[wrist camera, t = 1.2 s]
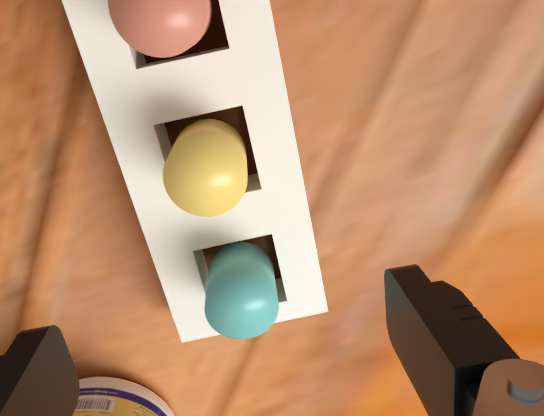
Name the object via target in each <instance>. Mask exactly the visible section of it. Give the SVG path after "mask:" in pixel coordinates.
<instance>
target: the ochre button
mask: <svg viewBox="0 0 544 416" xmlns="http://www.w3.org/2000/svg"><path fill="white" fill-rule="evenodd" d="M247 182H248V173H247V157H246V148H245V144H244V142H243V139H242V138H241V136H240V134H239V133H238V132H237V131H236V130H235V129H234V128H233V127H232V126H230V125H229V124H227V123H225V122H223V121H220V120H216V119H202V120H198V121H195V122H193V123H191V124H189V125H188V126H186V127H185V128H184V129H183V130H182V131H181V132H180V134H179V135H178V137H177V139H176V141H175V143H174V145H173V147H172V149H171V151H170V153H169V155H168V157H167V159H166V161H165V164H164V168H163V183H164V187H165V190H166V192H167V194H168V196H169V197H170V199H171V200H172V201H173V202H174V204H175V205H177V206H178V207H179V208H180V209H182V210H183V211H185V212H187V213H189V214H192V215H196V216H201V217H212V216H217V215H221V214H223V213H226V212H228V211H229V210H231V209H232V208H234V207H235V206H236V205H237V204H238V203H239V201H240V200H241V199H242V197H243V195H244V193H245V191H246V188H247Z"/></svg>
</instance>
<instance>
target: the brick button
mask: <svg viewBox="0 0 544 416" xmlns="http://www.w3.org/2000/svg"><path fill="white" fill-rule="evenodd" d="M108 8H109V13H110V17H111V20H112V22H113V25H114V26H115V28H116V30H117V32H118V33H119V35H120V36H121V37H122V38H123V40H124V41H125V42H126V43H127V44H129V45H130V46H131V47H132V48H134V49H135V50H137V51H139V52H140V53H143V54H145V55H148V56H152V57H159V58H166V57H172V56H176V55H179V54H181V53H183V52H185V51H186V50H188V49H189V48H191V47H192V46H194V45H195V44H196V43H198V42H199V41H200V40H201V39H202V38H203V36H204V35H205V33H206V32H207V30H208V28H209V25H210V22H211V17H212V4H211V0H108Z"/></svg>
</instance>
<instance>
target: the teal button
mask: <svg viewBox="0 0 544 416" xmlns="http://www.w3.org/2000/svg"><path fill="white" fill-rule="evenodd" d="M204 311H205V316H206V319H207V321H208V323H209V325H210V326H211V327H212V328H213V329H214V330H215V331H216V332H218V333H219V334H221V335H223V336H225V337H228V338H232V339H249V338H253V337H256V336H259V335H261V334H263V333H264V332H266V331H267V330H268V329H269V328H270V327H271V326H272V325H273V324H274V322H275V320H276V318H277V315H278V311H279V303H278V296H277V290H276V283H275V276H274V269H273V263H272V260H271V258H270V257H269V255H268V254H267V253H266V252H265V251H264V250H263V249H262V248H260V247H259V246H256V245H254V244H251V243H246V242H237V243H232V244H229V245H226V246H224V247H223V248H221V249H220V250H218V251H217V252H216V253H215V255H214V256H213V258H212V259H211V262H210V264H209V271H208V280H207V288H206V297H205V307H204Z"/></svg>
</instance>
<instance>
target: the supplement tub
mask: <svg viewBox="0 0 544 416" xmlns="http://www.w3.org/2000/svg"><path fill="white" fill-rule="evenodd" d="M79 386H80V391H79V399H78V402H77V405H76V408H75V410H74V413H73V416H175V415H174V413H173V412H172V410H171V409H170V408H169V406H168V405H167V404H166V403H165V402H164V401H163V400H162V399H161V398H160V397H159V396H158V395H156V394H155V393H154V392H152V391H150V390H149V389H147V388H145V387H143V386H141V385H139V384H137V383H134V382H131V381H127V380H124V379H119V378H113V377H89V378H83V379H79Z"/></svg>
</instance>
